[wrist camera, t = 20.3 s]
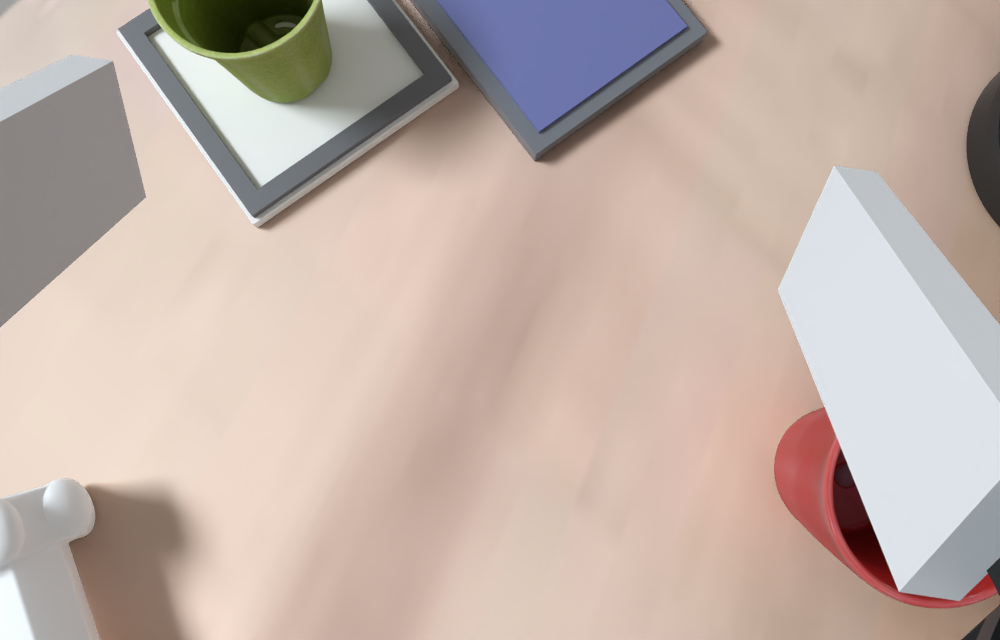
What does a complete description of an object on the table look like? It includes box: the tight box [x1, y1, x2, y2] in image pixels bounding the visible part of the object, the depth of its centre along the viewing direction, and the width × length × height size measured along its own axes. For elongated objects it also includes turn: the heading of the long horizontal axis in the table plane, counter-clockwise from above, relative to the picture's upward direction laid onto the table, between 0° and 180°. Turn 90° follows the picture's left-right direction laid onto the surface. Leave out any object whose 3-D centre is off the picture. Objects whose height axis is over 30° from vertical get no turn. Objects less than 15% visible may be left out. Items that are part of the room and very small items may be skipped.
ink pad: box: [410, 0, 707, 161], centre depth 44 cm, size 14×14×2 cm
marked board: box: [116, 0, 459, 228], centre depth 44 cm, size 16×16×1 cm
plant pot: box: [147, 0, 332, 103], centre depth 39 cm, size 9×9×9 cm
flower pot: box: [774, 407, 998, 608], centre depth 36 cm, size 11×11×10 cm
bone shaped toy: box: [0, 478, 100, 640], centre depth 36 cm, size 15×9×8 cm, turn 22°
